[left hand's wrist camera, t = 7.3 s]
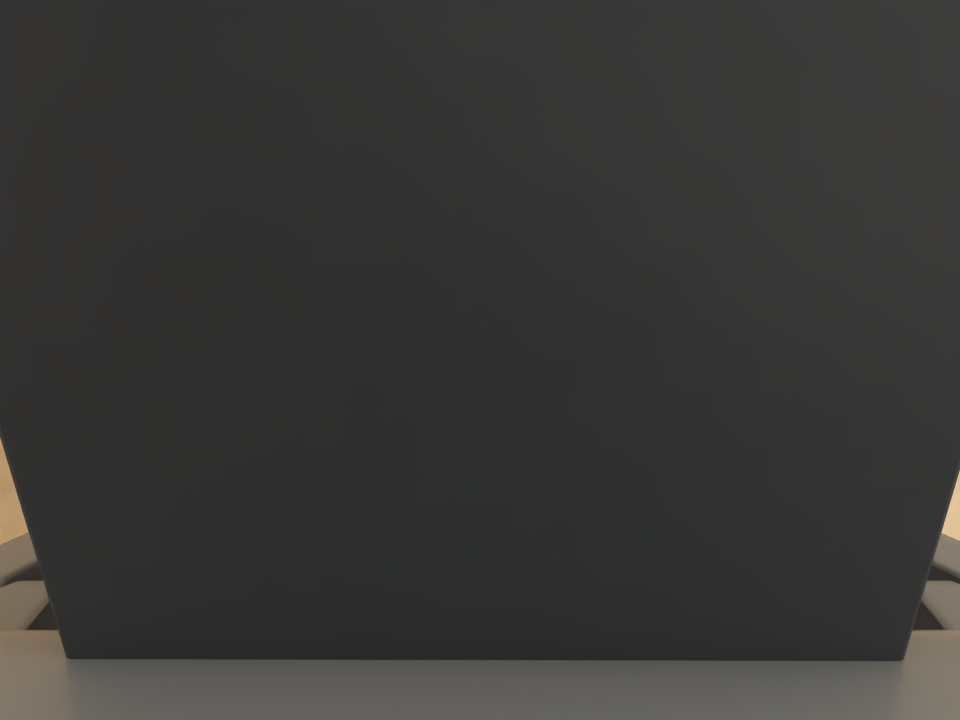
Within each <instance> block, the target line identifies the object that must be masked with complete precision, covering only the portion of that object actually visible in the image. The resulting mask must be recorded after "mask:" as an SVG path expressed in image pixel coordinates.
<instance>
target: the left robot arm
mask: <svg viewBox="0 0 960 720" xmlns="http://www.w3.org/2000/svg"><path fill="white" fill-rule="evenodd" d="M0 720H960V541H958V540H956V539H954V538H951V537H949V536H947V535H944V534H942V533H941V535H940V538H939V542H938V545H937V549H936V552H935V555H934V559H933V562H932V565H931V569H930V572H929V576H928V579H927V582H926V586H925V589H924V593H923V596H922V599H921V603H920V606H919V610H918V613H917V616H916V620H915V623H914V626H913V630H912V633H911V637H910V640H909V643H908V647H907V650H906V654H905V657H904V660H901V661H645V660H208V659H68V658H66V655H65V652H64V648H63V645H62V642H61V638H60V635H59V632H58V628H57V625H56V621H55V618H54V615H53V611H52V608H51V605H50V601H49V598H48V595H47V591H46V588H45V585H44V581H43V578H42V575H41V571H40V568H39V565H38V561H37V558H36V555H35V551H34V548H33V545H32V541H31V538H30V535H29V533H26V534H24V535H22V536H20V537H17V538H15V539H13V540H11V541H8V542H6V543H4V544H2V545H0Z"/></svg>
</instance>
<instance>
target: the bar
mask: <svg viewBox="0 0 960 720" xmlns="http://www.w3.org/2000/svg"><path fill="white" fill-rule="evenodd" d="M0 438H1V441H2V444H3V448H4V451H5V454H6V458H7V461H8V464H9V468H10V471H11V474H12V478H13V481H14V484H15V488H16V491H17V494H18V498H19V501H20V505H21V508H22V511H23V515H24V518H25V521H26V525H27V528H28V531H29V535H30V538H31V541H32V545H33V548H34V551H35V555H36V558H37V561H38V565H39V568H40V571H41V575H42V578H43V581H44V585H45V588H46V591H47V595H48V598H49V601H50V605H51V608H52V611H53V615H54V618H55V621H56V625H57V628H58V632H59V635H60V638H61V642H62V645H63V648H64V652H65V655H66V658H68V659H208V660H645V661H901V660H904V657H905V654H906V650H907V647H908V643H909V640H910V637H911V633H912V630H913V626H914V623H915V620H916V616H917V613H918V610H919V606H920V603H921V599H922V596H923V593H924V589H925V586H926V582H927V579H928V576H929V572H930V569H931V565H932V562H933V559H934V555H935V552H936V549H937V545H938V542H939V538H940V535H941V532H942V528H943V525H944V521H945V518H946V515H947V511H948V508H949V505H950V501H951V498H952V494H953V491H954V488H955V484H956V481H957V477H958V474H959V471H960V0H0Z"/></svg>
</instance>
